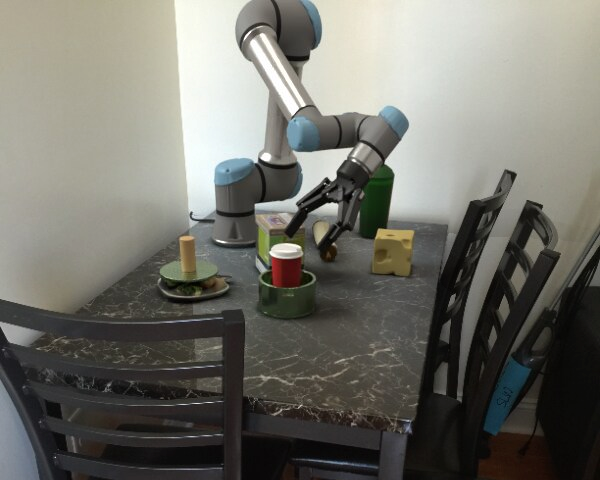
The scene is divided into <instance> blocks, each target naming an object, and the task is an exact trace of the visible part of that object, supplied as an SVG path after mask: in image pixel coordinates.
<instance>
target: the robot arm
mask: <svg viewBox="0 0 600 480" xmlns="http://www.w3.org/2000/svg"><path fill="white" fill-rule="evenodd" d="M235 20H236V22H235V25H234V34H235V35H234V37H235V41H236V44H237V46H238V49H239V51H240V52H241V54H242V56H243V58H244V59H245V60H247V62H248V61H249V62H250V63H252V64H253V66H254V68H255V69H256V71H257V73H258V74H259V76H260V78H261V80H262V81H263V83H264V85H265V86H266V88H267V89H268V99H267V112H266V123H265V133H264V143H263V149H261V150H260V151H259V152H258V156H257V162H255V161H254V159H252V158H247V157H240V158H239V157H235V158H230V159H226V160H223V161H220V162H219V163H218V164H216V166H215V168H214V174H213V175H214V177H213V183H214V197H215V199H214V200H215V219H213V218H194V217H193V215H194V214H193V213H194V212H193V211H190V212H189V219H190V220H191V221H192V222H193V221H194V222H200V223H202V222H206V223H209V222H210V223H214V224H213V229H212V231H211V233H210V234H211V235H210V237H211V238H210V239H211V242H212V244H214V245H215V246H219V247H222V248H233V249H234V248H235V249H237V248H238V249H239V248H241V249H243V248H249V247H253V246H256V223H255V222H256V205H258V204H266V203H275V202H284V201H287V200H291V199H294V198H295V197H297V195H298V194H299V193H300V191H301V189H302V186H303V181H304V173H303V172H302V171H303V168H302V166H301V163H300V162H299V161H298V157H297V156H296V154H295V153H294V152H296V153H314V152H323V151H330V150H342V149H351V151H349V153H348V154H347V156H346V159H344V160H343V161H342V163H341V164H340V165H339V167H338V168H337V170H336V172H335V173H336V178H334V179H333V180H331V179H330V178H329V177H328V176H326V177H324V178H323V179H322V180H321V182H319V184H317V185H316V186H315V187H314V188H312V189H311V190H310V191H309V192H307V193H306V194H305V195H303V196H302V197H301V198H300V199H299V200H297V201H296V203H295V206H296V207H297V210H296V212H295V214H294V215H293V218H292V219H291V221H290V223H289V224H288V225H287V227H286V228H285V229H284V231H283V232H284V233H285V234H286V235H287V236H288V237H289V238H290V239H292V237H293V236H294V235H295V233H296V232H297V231H298V229H299V228H300V227H301V225H302V224H303V225H304V223H305V221H306V220H307V219H308V217H309V214H311V213H312V212H314V211H316V210H318V209H319V208H321V207H323V206H325V205H326V204H337V205H338V206H337V216H336V221H334V223H332V225H331V226H329V230H328V231H327V233H326V234H325V235H324V237H323V238H322V239H321V241H320V242H319V243H318V245H317V244H316V246H315V249H317V250H318V251H319V253H320V252H321V253H322V254H323V255H325V253H326V252H327V251H328V249H329V248H330V247H331V245H332V244H333V243H336V242H337V241H338V239H339V238H340V237H341V236H342V234H343V233H344V232H346V231H348V232H349V233H350V232H353V231H354V228H355V225H356V223H357V219H358V216H359V210H360V207H361V204H362V202H363V201H364V199H365V198H366V195H365V194H364V193H363V189H364V188H365V187H366V185H367V184H368V183H369V181H370V178H372V177H373V176H374V174H375V173H376V172H377V170H378V169H379V168H380V166H381V165H382V164H383V162H384V161H385V162H386V160H387V159H388V157H389V156H390V155H391V154H392V152H393V151H394V150H395V148H397V146H398V144H399V143H400V142H401V141H402V139H403V137H404V136H405V135H406V133H407V131H408V130H409V128H410V122H409V120H408V117H407V116H406V115H405V113H404V112H403V111H402V110H400V109H399V108H397V107H395V106H394V105H385V107H383V108H382V109H381V110H380V111H379V112H378V114H377V115H371V114H365V113H359V112H357V111H352V112H351V111H350V112H349V111H347V112H343V113H341V114H331V115H323V114H322V113H321V111H320V109H319V108H318V107H317V106H316V104H315V102H314V101H313V99H312V97H311V96H310V94H309V92H308V91H307V89H306V87H305V85H304V84H303V83H302V78H303V71H304V66H305V65H306V64H307V63H308V62H309V61H310V59H311V58H310V57H311V51H314V50H315V49H317V48H318V47H319V45H320V44H321V42H322V36H323V23H322V18H321V15H320V13H319V10H318V7H317V6H316V5H315V3H313V2H312V1H311V0H249V1H247V2H246V3H245V5H243V6H242V8H241V9H240V11H239V12H238V15H237V18H236V19H235Z"/></svg>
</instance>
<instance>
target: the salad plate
mask: <svg viewBox="0 0 600 480" xmlns="http://www.w3.org/2000/svg"><path fill="white" fill-rule="evenodd" d="M232 278H233V274H219V273H217V275H215V276H214V277H212V278H210V279H207V280H203V281H197V282H176V281H171V280H167V279H165V278H163V277H162V276H161V275H160V278H159V279H158V280H157V283H156V285H157V287H158V290H159V292H160V293H161V294H162V296H163V297H164V298H165V299H166V300H168V301H170V302H173V303H174V302H175V303H191V302H192V303H193V302H196V301H197V302H198V301H203V300H208V299H212V298H215V297H219V296H221V295H223V294H224V293H226V292H227V291H228V290H229V289H230V285H229V284H228V283H227V282H225V281H226V280H229V279H232Z"/></svg>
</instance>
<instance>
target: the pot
mask: <svg viewBox="0 0 600 480" xmlns="http://www.w3.org/2000/svg"><path fill="white" fill-rule="evenodd" d="M316 290H317V276H316V275H315V274H314V273H313V272H311V271H308V270H305V269H304V270H301V274H300V285H299V286H298V287H277V286H273V273H272V269H271V270H268V271H265V272H263V273H261V272H260V274H259V275H258V309H259V311H260V312H261V313H262V314H263V315H266V316H268V317H271V318H276V319H282V320H283V319H285V320H286V319H288V320H292V319H299V318H303V317H307V316H310V315H311V314H312V313H314V311H315V309H316V297H317V296H316V294H317V293H316V292H317V291H316Z"/></svg>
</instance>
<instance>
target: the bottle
mask: <svg viewBox="0 0 600 480" xmlns="http://www.w3.org/2000/svg"><path fill="white" fill-rule="evenodd" d="M394 183H395V172H394V169H392V168H391V167H390V166H389V165H388V164H386V160H385V161H384V162H383V164H382V165H381V166H380V168H379V169H378V170H377V172H376V173H375V174H374V176H373V177H372V178H370V181H369V183H368V184H367V185H366V187H365V188H364V189H363V193H364V194H365V195H366V198H365V199H364V201H363V202H362V204H361V207H360V210H359V213H358V216H359V217H358V223H359V224H358V234H359V235H360V236H361V237H364V238H367V239H375V238H376V235H377V231H378V229H388V225H389V217H390V211H391V202H392V196H393V191H394V190H393V189H394Z"/></svg>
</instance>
